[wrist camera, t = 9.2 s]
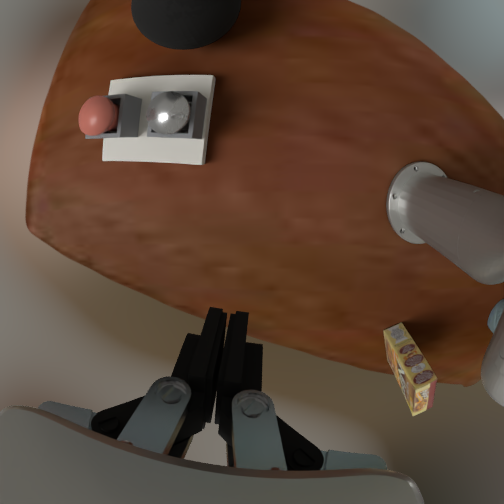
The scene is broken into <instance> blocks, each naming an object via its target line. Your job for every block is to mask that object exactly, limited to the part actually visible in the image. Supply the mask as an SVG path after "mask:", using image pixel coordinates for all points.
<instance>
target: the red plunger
mask: <svg viewBox="0 0 504 504" xmlns="http://www.w3.org/2000/svg"><path fill="white" fill-rule="evenodd" d="M119 109H120V105H118V104H113V102H112V101H111V100H110V99H109V98H107V97H104V96H94V97H91V98H90V99H88V100H87V101H86V102H85V103H84V105H83V106H82V108H81V110H80V113H79V126H80V129H81V130H82V132H83V133H85V134H86V135H90V136H97V135H101V134H103V133H105V132H106V131H117V127H118V117H119Z"/></svg>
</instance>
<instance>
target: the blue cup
mask: <svg viewBox="0 0 504 504" xmlns="http://www.w3.org/2000/svg"><path fill="white" fill-rule="evenodd" d="M503 309H504V299H502V300H501V301H499V302H498V303H497V304H496V305H495V307H494V308H493V310H492V311H491V313H490V316H489V318H488V327H489V328H490V330H491V331H492V332H493V333H494V332H495V329H496V327H497V325H498V322H499V320H500V317H501V315H502V312H503Z"/></svg>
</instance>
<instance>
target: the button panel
mask: <svg viewBox="0 0 504 504" xmlns="http://www.w3.org/2000/svg"><path fill="white" fill-rule="evenodd" d="M215 81H216V79H215V77H214V76H213V75H165V76H148V77H137V78H127V79H118V80H111V83H110V89H109V95H107V96H104V97H107V98H109V99H110V100H111V101H112V102H113V104H118V105H120V109H119V117H118V127H117V131H106V132H105V133H103V134H101V135H97V136H90V135H86V137H85V139H93V138H104V141H103V157H102V161H144V162H166V163H182V164H196V165H203V164H205V158H206V149H207V140H208V132H209V124H210V116H211V108H212V101H213V94H214V87H215ZM167 91H173V92H177V93H179V94H181V95H183V96H184V97H185V98H186V99H187V100H188V101H189V103H190V106H191V117H190V121H189V129H188V130H186V131H179V132H177V133H174V134H160V133H157V132H155V131H154V130H152V129H151V128H150V126H149V125H148V122H147V118H146V112H147V108H148V106H149V104H150V102H151V101H152V100H153V99H154V98H155V97H156V96H157V95H159V94H161V93H163V92H167Z"/></svg>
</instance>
